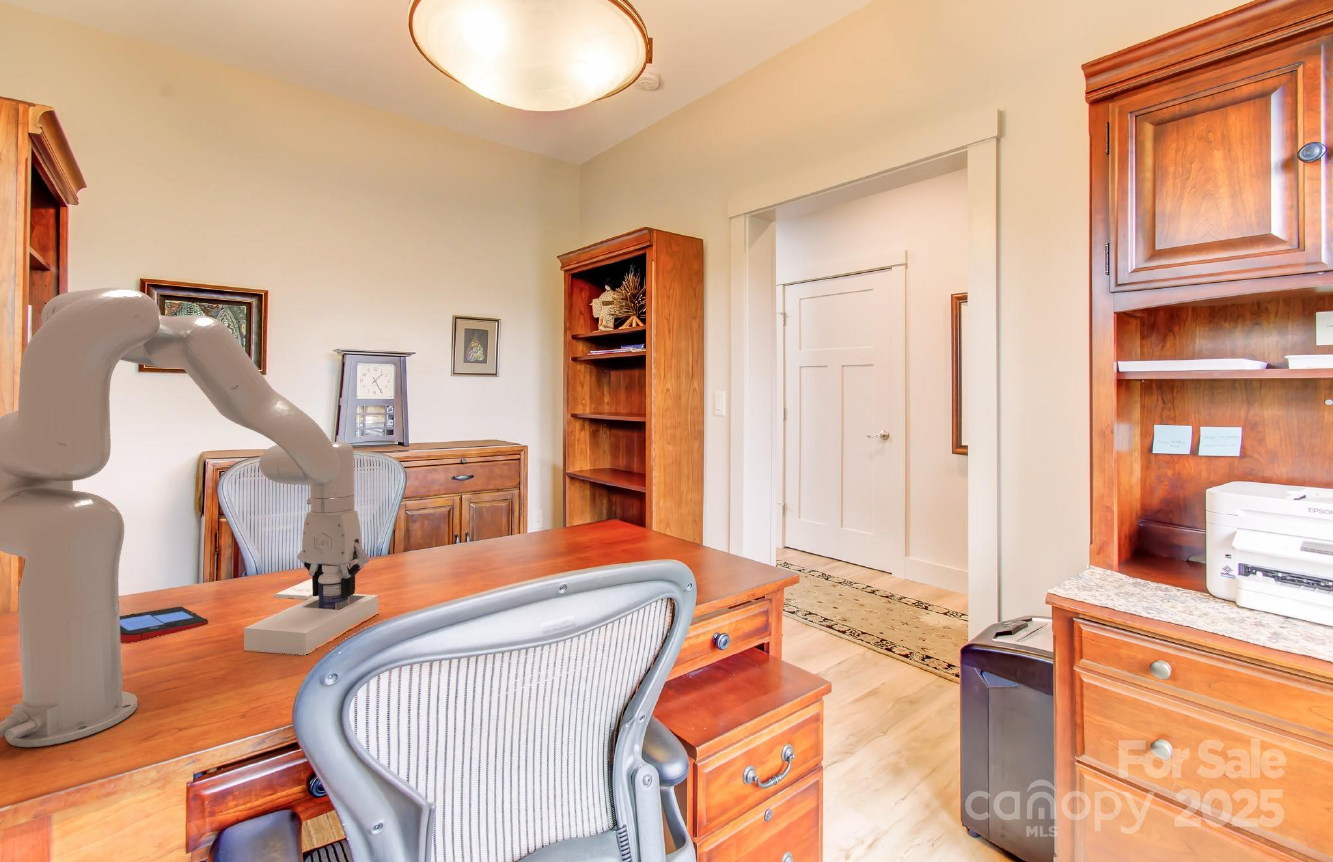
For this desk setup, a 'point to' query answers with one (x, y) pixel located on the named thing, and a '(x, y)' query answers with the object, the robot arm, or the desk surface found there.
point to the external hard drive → (297, 591)
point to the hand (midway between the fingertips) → (333, 594)
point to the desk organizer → (306, 625)
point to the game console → (157, 623)
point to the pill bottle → (331, 588)
